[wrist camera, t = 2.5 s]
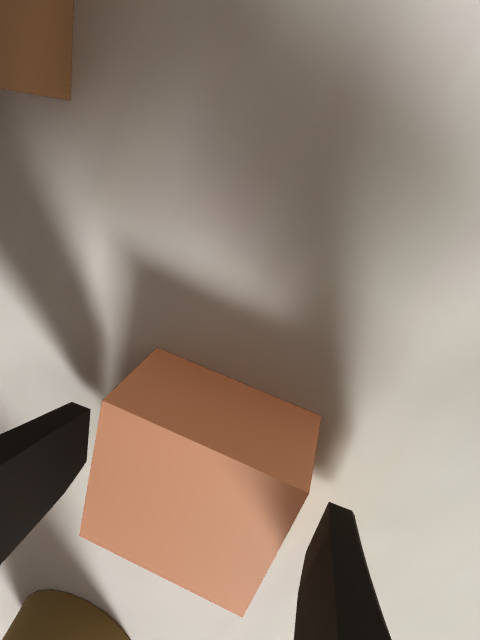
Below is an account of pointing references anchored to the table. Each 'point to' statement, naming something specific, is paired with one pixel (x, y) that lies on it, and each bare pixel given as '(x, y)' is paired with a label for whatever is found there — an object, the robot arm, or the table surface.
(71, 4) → the walnut slab
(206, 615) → the table surface
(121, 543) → the orange block
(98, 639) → the olive upright rounded piece
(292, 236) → the table surface
